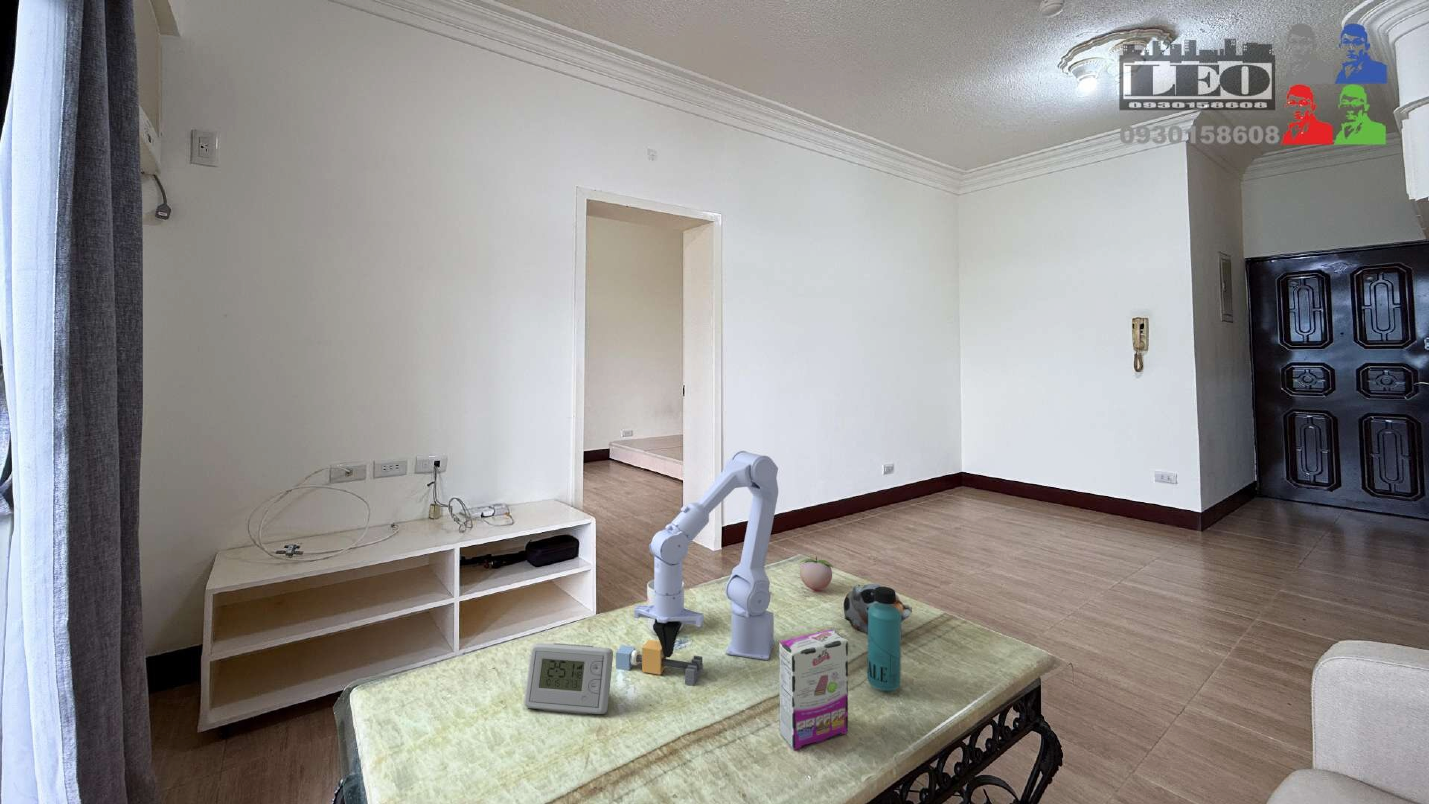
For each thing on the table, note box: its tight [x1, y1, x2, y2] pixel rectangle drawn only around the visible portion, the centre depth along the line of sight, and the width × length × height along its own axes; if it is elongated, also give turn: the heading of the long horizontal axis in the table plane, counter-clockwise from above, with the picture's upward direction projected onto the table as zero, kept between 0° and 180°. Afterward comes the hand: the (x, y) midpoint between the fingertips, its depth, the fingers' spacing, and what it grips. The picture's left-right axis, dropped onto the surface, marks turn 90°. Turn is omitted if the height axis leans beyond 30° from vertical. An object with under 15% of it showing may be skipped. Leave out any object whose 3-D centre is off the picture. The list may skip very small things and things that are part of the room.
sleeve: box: [641, 639, 667, 675], centre depth 111 cm, size 4×4×5 cm
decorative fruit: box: [799, 556, 834, 592], centre depth 152 cm, size 9×8×10 cm
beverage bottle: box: [866, 586, 902, 691], centre depth 104 cm, size 6×7×20 cm
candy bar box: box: [778, 629, 849, 751], centre depth 91 cm, size 11×5×16 cm, turn 114°
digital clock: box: [523, 642, 614, 715], centre depth 100 cm, size 16×9×11 cm, turn 71°
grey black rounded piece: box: [843, 583, 913, 634], centre depth 130 cm, size 15×12×14 cm
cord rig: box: [615, 644, 704, 686], centre depth 111 cm, size 18×6×3 cm, turn 74°
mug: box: [646, 579, 685, 636], centre depth 131 cm, size 12×9×11 cm
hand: (668, 654), depth 110 cm, fingers closed
